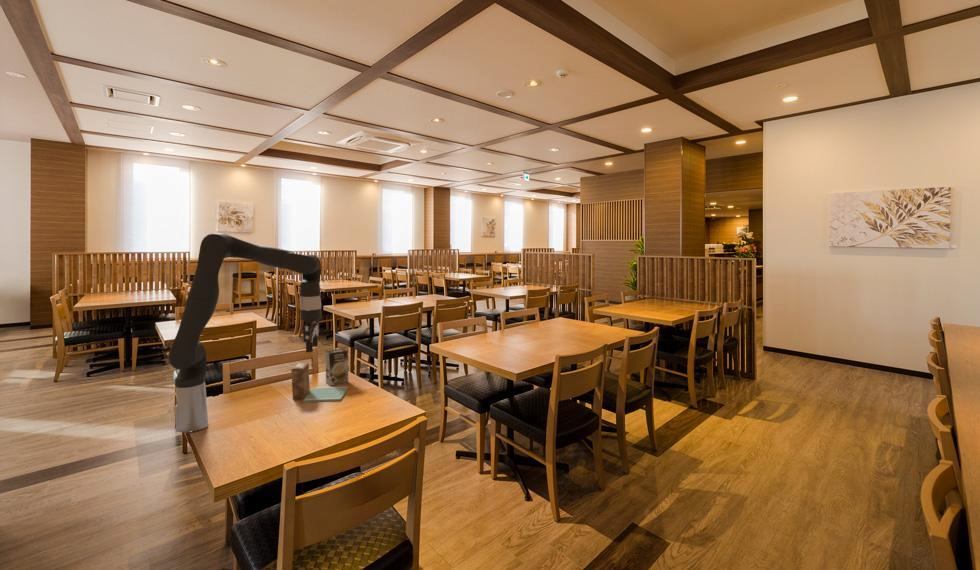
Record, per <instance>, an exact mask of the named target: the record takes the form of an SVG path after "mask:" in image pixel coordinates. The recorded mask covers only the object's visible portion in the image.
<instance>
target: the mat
mask: <svg viewBox="0 0 980 570" xmlns="http://www.w3.org/2000/svg"><path fill="white" fill-rule="evenodd" d="M348 389H349V386H328V387H327V386H325V387H322V386H321V387H312V388H311V390H310V392H309V394H308V395H307V396H306V397H305V398H304V399H302V402H303V403H317V402H319V403H321V402H340V401H342V399H343V398H344V396H345V395H346V392H347V391H348Z"/></svg>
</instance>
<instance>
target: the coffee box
mask: <svg viewBox="0 0 980 570" xmlns="http://www.w3.org/2000/svg"><path fill="white" fill-rule="evenodd" d="M325 383H326V384H327V385H329V387H332V386H335V385H341V384H345V383H349V351H348V350H347V349H345V348H337V349H331V350H325Z"/></svg>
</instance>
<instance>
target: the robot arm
mask: <svg viewBox="0 0 980 570" xmlns="http://www.w3.org/2000/svg"><path fill="white" fill-rule="evenodd" d="M198 251H199V252H198V259H197V263H196V269H195V272H194V275H193V278H192V282H191V286H190V288H189V291H188V294H187V298H186V300H185V301H186V302H185V306H184V310H183V312H182V317H181V320H180V324H179V326H178V330H177V333H176V335H175V338H174V340H173V341H172V342H173V343H172V345H171V347H170V349H169V351H168V362H169V364H170V365H171V367H172V368H174V369H176V370H179V371H178V373H177V375H176V377H175V379H174V387H175V388H174V390H175V397H176V398H175V401H176V405H175V406H173V409H174V421H175V432H177V433H178V432H180V433H182V434H186V433H187V434H188V433H189V432H190V431H196V432H198V431H197V430H199V431H201V429H202V430H204V429H206V428H207V427H208V426H209V419H208V418H209V416H208V405H207V400H208V399H207V389H206V375H207V371H208V369H207V368H208V366H207V363H208V362H207V351H206V347H205V345H204V344H203V343H202V342H201V341H199V340H200V337H201V335H202V332H203V331H204V330H205V328H206V326H207V325H208V323H209V322H210V321H211V318H212V316H213V315H214V312H215V310H216V307H217V304H218V300H219V296H220V285H219V273H220V270H221V267H222V265H223V261H224V259H227V258H233V259H235V258H236V259H237V258H239V259H245V260H250V261H254V262H256V263H259V264H263V265H265V266H268V267H273V268H279V269H284V270H289V271H292V272H294V273H299V274H301V275H302V277H301V282H300V284H299V293H300V294H299V313H300V314H299V317H300V321H302V322H305V325H303V327H302V328H303V340H302V341H303V342H304V343H305V352H306V353H312V352H313V351H314V350H313V349H314V347H318V345H319V339H318V337H319V334H320V323H319V322H320V321H321V320H322V315H323V314H322V300H321V285H320V282H321V281H320V280H321V274H322V264H321V260H320V258H319V257H318V256H316V255H314V254H307V255H306V254H300V253H294V252H293V251H291V250H287V249H283V248H277V247H272V246H267V245H263V244H262V245H261V244H255V243H252V242H249V241H245V240H243V239H239V238H237V237H235V236H232V235H230V234H226V233H222V232H221V233H220V232H219V233H218V232H217V233H209V234H206V236H204V237H203V239H202V240H201V242H200V246H199V250H198ZM190 433H191V432H190Z"/></svg>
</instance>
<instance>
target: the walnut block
mask: <svg viewBox="0 0 980 570" xmlns="http://www.w3.org/2000/svg"><path fill="white" fill-rule="evenodd" d="M290 370H291V386H292V387H291V389H292V400H304V398H305V397H306V396H307V395H308V394H309V392H310V391H311V390H310V389H311V387H310V367H309V363H308V362H304V363H303V362H302V363H300V362H299V363H296V364H295V365H293V367H291V369H290Z"/></svg>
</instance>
